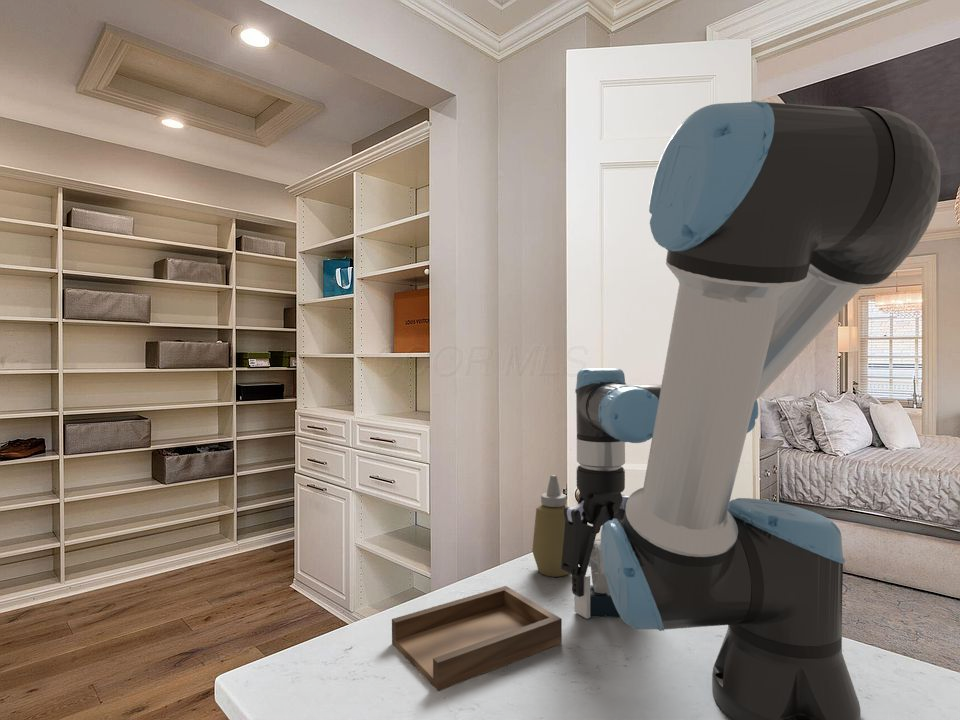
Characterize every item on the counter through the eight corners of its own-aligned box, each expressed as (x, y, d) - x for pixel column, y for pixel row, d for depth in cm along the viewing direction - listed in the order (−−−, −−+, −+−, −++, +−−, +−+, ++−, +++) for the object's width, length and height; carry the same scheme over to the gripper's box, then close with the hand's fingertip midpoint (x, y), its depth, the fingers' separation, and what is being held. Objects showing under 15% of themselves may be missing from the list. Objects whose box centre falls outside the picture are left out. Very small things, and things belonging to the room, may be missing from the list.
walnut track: (561, 643, 80) (561, 618, 80) (437, 691, 69) (437, 662, 69) (506, 607, 91) (505, 585, 91) (391, 643, 80) (391, 619, 80)
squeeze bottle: (582, 568, 107) (582, 474, 106) (565, 583, 100) (564, 482, 99) (543, 560, 111) (543, 469, 111) (524, 574, 104) (524, 477, 104)
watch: (614, 599, 94) (614, 533, 93) (622, 622, 86) (622, 551, 85) (580, 598, 94) (580, 532, 94) (585, 621, 86) (585, 550, 86)
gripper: (626, 454, 98) (626, 584, 99) (536, 469, 87) (536, 615, 88) (661, 461, 92) (661, 600, 92) (569, 478, 81) (569, 636, 81)
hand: (600, 607), depth 90 cm, fingers closed on watch, 7 cm apart
